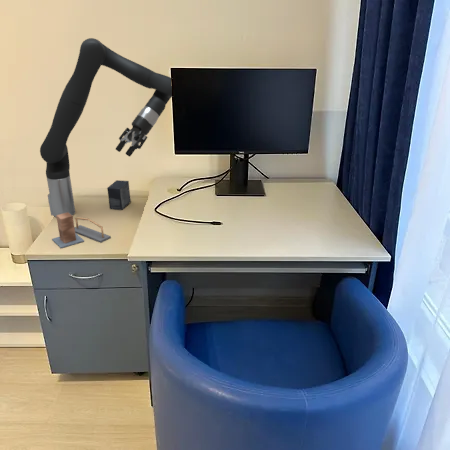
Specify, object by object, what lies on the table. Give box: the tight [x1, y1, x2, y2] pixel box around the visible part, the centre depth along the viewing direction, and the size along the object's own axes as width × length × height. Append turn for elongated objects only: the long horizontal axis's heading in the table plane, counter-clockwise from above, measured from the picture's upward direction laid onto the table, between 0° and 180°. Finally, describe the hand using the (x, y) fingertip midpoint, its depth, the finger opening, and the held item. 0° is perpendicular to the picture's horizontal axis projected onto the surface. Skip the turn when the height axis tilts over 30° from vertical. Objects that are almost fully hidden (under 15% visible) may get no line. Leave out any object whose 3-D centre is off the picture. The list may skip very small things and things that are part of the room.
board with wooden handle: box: [74, 216, 112, 244], centre depth 168 cm, size 5×18×7 cm, turn 56°
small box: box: [106, 180, 132, 211], centre depth 195 cm, size 11×6×10 cm, turn 170°
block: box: [55, 212, 76, 243], centre depth 162 cm, size 4×4×10 cm
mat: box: [51, 233, 85, 249], centre depth 164 cm, size 9×9×1 cm
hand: (122, 152), depth 172 cm, fingers open, 8 cm apart
